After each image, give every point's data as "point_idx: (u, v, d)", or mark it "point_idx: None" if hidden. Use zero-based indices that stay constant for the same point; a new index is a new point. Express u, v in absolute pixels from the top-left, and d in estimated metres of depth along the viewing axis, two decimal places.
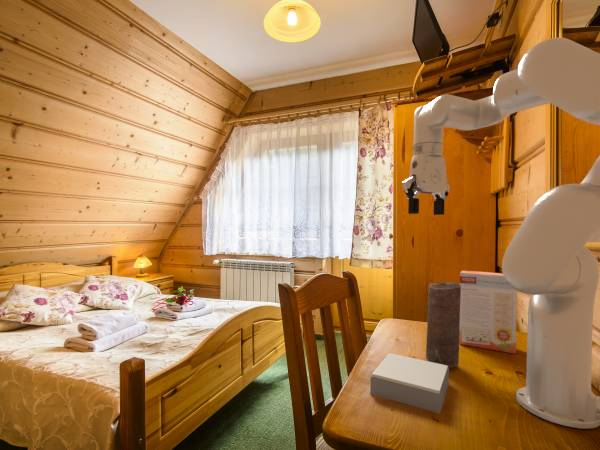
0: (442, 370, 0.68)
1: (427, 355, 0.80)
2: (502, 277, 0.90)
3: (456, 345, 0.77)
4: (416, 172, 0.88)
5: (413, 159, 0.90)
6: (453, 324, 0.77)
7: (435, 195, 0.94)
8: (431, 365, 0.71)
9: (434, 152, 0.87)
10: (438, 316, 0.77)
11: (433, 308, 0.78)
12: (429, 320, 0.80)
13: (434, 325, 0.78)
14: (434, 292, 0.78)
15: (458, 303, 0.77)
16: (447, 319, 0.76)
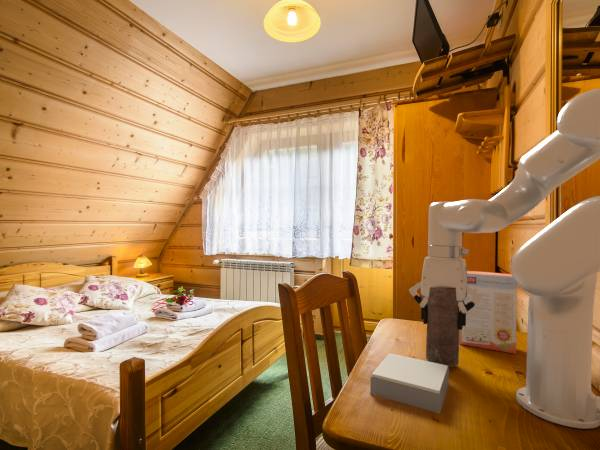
0: (442, 370, 0.68)
1: (427, 355, 0.80)
2: (502, 277, 0.90)
3: (456, 345, 0.77)
4: None
5: (464, 264, 0.77)
6: (453, 324, 0.77)
7: None
8: (431, 365, 0.71)
9: None
10: (438, 316, 0.77)
11: (432, 308, 0.78)
12: (429, 320, 0.80)
13: (434, 325, 0.78)
14: (434, 291, 0.78)
15: (457, 303, 0.77)
16: (446, 318, 0.77)
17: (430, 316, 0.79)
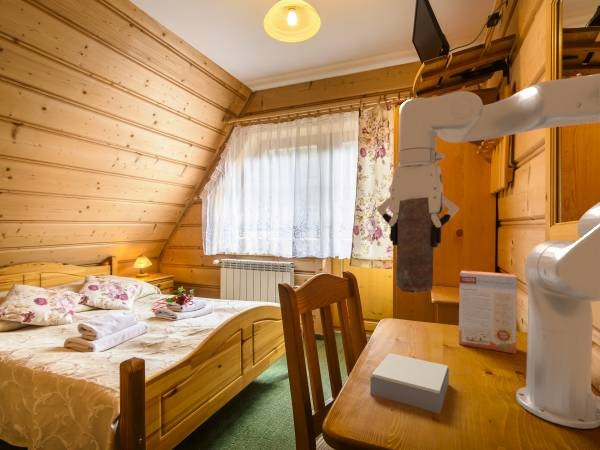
0: (442, 370, 0.68)
1: (396, 280, 0.69)
2: (502, 277, 0.90)
3: (429, 265, 0.66)
4: (442, 190, 0.67)
5: (438, 170, 0.66)
6: (425, 240, 0.65)
7: None
8: (431, 365, 0.71)
9: None
10: (408, 231, 0.66)
11: (402, 223, 0.67)
12: (398, 239, 0.68)
13: (403, 243, 0.67)
14: (403, 204, 0.67)
15: None
16: (417, 233, 0.65)
17: (399, 234, 0.68)
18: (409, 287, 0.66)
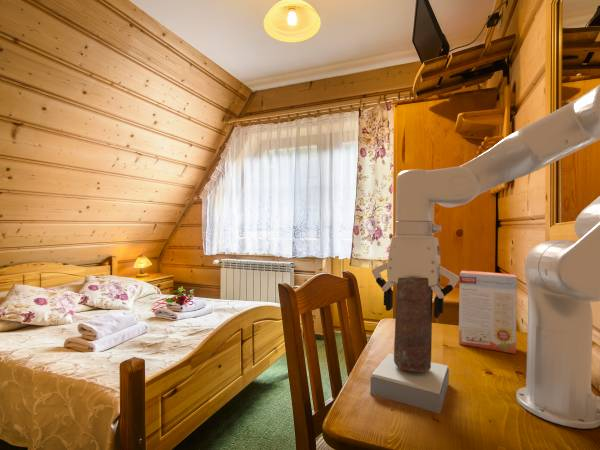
0: (442, 370, 0.68)
1: (394, 357, 0.68)
2: (502, 277, 0.90)
3: (427, 346, 0.65)
4: None
5: (436, 242, 0.65)
6: (424, 321, 0.65)
7: None
8: (431, 365, 0.71)
9: None
10: (406, 311, 0.65)
11: (400, 302, 0.67)
12: (397, 316, 0.68)
13: (402, 323, 0.66)
14: (402, 283, 0.66)
15: (430, 296, 0.65)
16: (416, 315, 0.65)
17: (398, 312, 0.67)
18: (407, 368, 0.65)
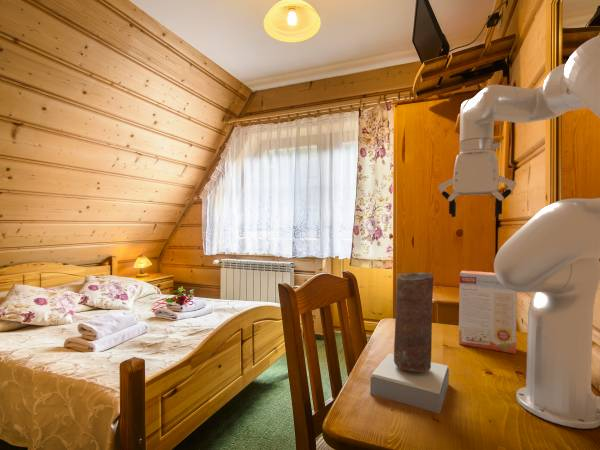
0: (442, 370, 0.68)
1: (394, 357, 0.68)
2: None
3: (427, 346, 0.65)
4: None
5: (496, 156, 0.80)
6: (424, 321, 0.65)
7: None
8: (431, 365, 0.71)
9: None
10: (406, 311, 0.65)
11: (400, 302, 0.67)
12: (397, 316, 0.68)
13: (402, 322, 0.66)
14: (402, 283, 0.66)
15: (430, 296, 0.65)
16: (416, 315, 0.65)
17: (398, 312, 0.67)
18: (407, 368, 0.65)
